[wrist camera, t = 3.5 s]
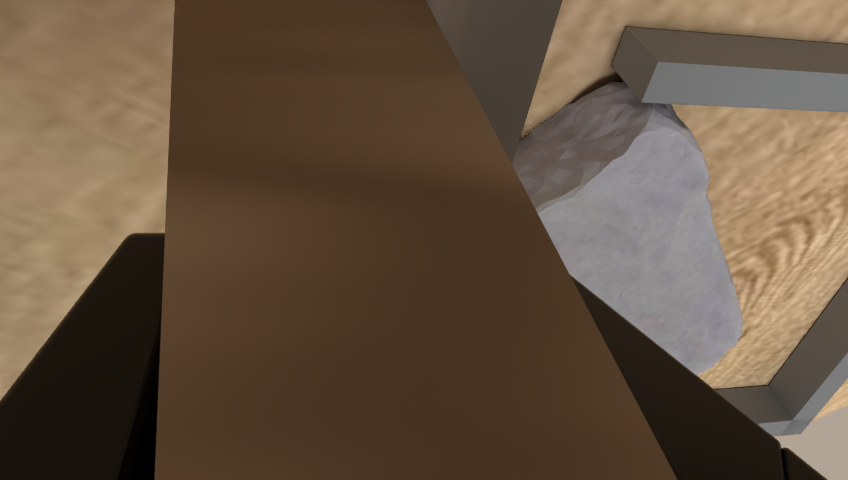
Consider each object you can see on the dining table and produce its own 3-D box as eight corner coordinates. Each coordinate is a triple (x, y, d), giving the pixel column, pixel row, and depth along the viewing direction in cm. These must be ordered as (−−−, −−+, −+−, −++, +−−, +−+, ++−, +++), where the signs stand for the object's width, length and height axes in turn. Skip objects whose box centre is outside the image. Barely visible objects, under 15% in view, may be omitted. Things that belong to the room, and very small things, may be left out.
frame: (476, 424, 32) (489, 465, 31) (625, 26, 21) (658, 61, 19) (777, 399, 37) (800, 433, 35) (1039, 59, 25) (1090, 90, 24)
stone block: (489, 350, 32) (726, 282, 29) (499, 451, 29) (767, 386, 26) (356, 156, 25) (659, 38, 22) (348, 264, 21) (707, 141, 18)
